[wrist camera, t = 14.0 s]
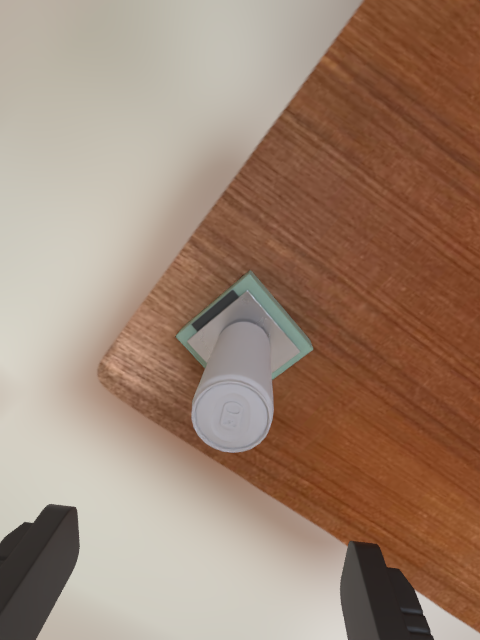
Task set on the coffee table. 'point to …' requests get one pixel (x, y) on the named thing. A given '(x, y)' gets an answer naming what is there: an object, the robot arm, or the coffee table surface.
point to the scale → (267, 302)
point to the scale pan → (245, 311)
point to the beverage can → (235, 390)
